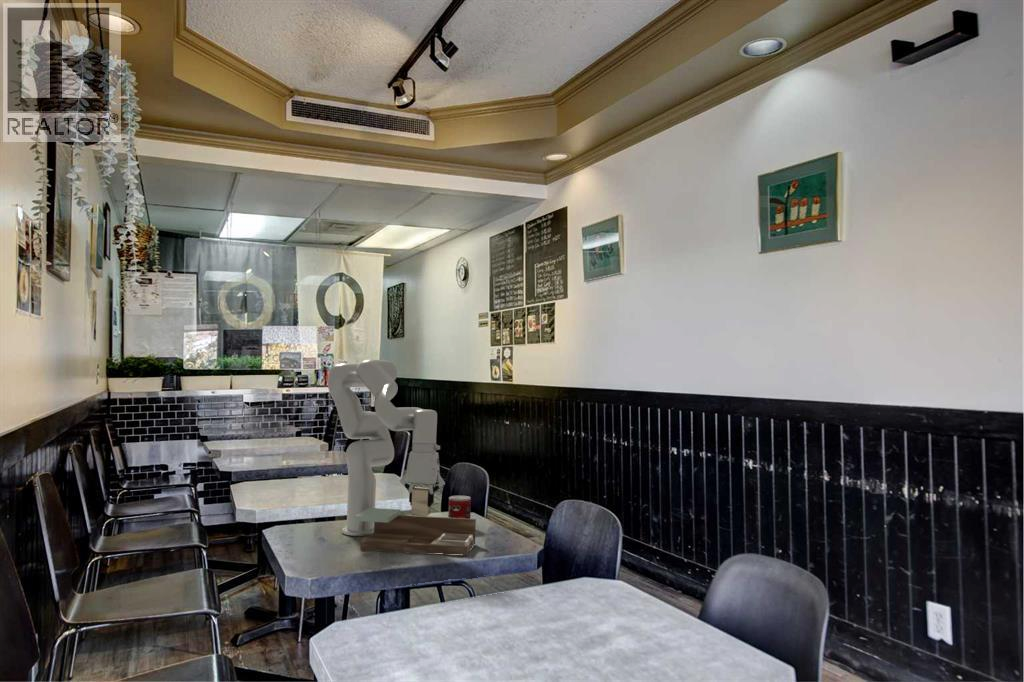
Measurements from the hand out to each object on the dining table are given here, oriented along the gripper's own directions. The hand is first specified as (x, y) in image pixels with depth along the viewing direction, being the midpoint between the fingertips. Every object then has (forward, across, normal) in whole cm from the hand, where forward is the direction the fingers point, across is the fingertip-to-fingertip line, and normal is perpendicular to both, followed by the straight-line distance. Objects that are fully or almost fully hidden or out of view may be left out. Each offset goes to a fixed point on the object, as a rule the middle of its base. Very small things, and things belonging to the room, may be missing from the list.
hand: (421, 504), depth 210 cm
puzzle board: (+14, 0, 0) cm, 14 cm away
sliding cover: (+5, +14, -1) cm, 15 cm away
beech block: (+3, 0, 0) cm, 3 cm away
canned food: (+14, -7, -30) cm, 33 cm away
